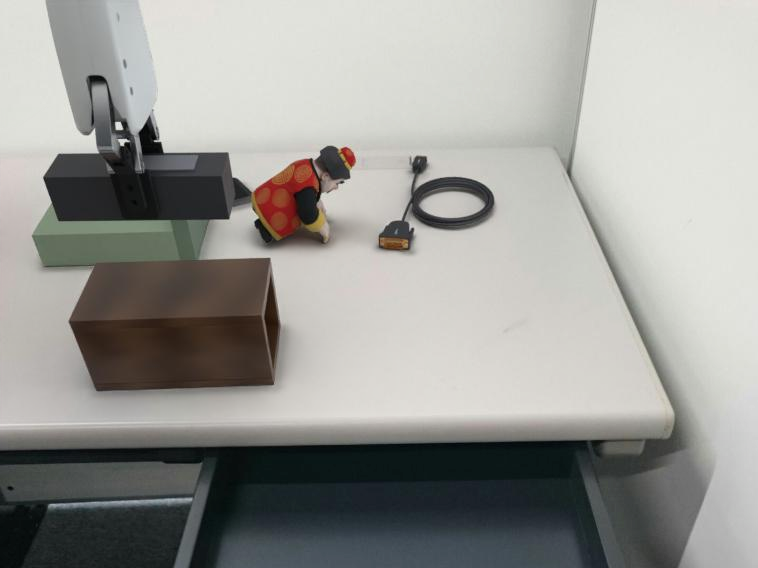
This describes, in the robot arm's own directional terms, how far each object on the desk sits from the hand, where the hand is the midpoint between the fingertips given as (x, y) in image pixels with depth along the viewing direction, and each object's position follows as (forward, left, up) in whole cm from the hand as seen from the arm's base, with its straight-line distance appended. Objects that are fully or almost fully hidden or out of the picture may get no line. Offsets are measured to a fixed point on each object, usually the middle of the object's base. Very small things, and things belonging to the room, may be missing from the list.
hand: (147, 200), depth 65 cm
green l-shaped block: (-12, +26, -16) cm, 33 cm away
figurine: (+11, +27, -17) cm, 34 cm away
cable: (+30, +34, -17) cm, 49 cm away
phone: (-5, +37, -17) cm, 41 cm away
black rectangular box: (0, 0, -1) cm, 1 cm away
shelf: (0, 0, -16) cm, 16 cm away
